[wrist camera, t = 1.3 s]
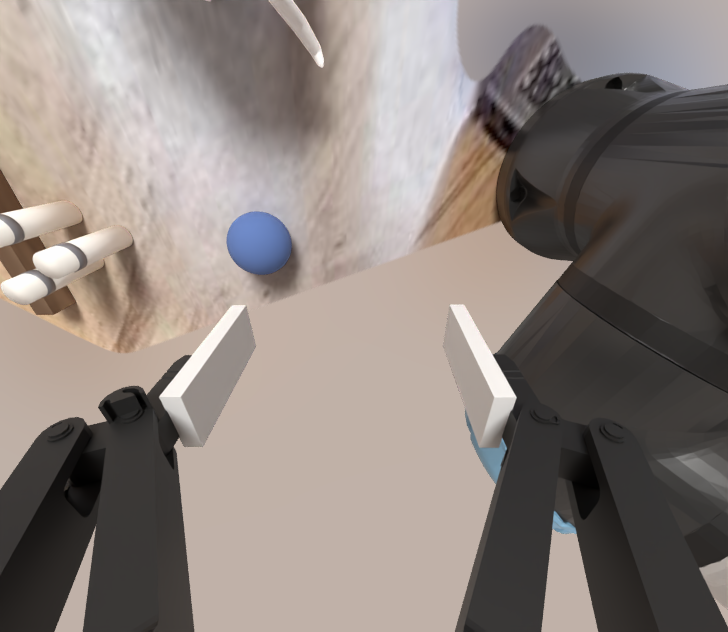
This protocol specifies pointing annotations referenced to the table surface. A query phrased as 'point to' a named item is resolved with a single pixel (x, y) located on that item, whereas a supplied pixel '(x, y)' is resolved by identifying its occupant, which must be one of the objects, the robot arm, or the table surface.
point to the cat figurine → (299, 27)
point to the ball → (259, 243)
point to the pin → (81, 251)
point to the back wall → (28, 258)
